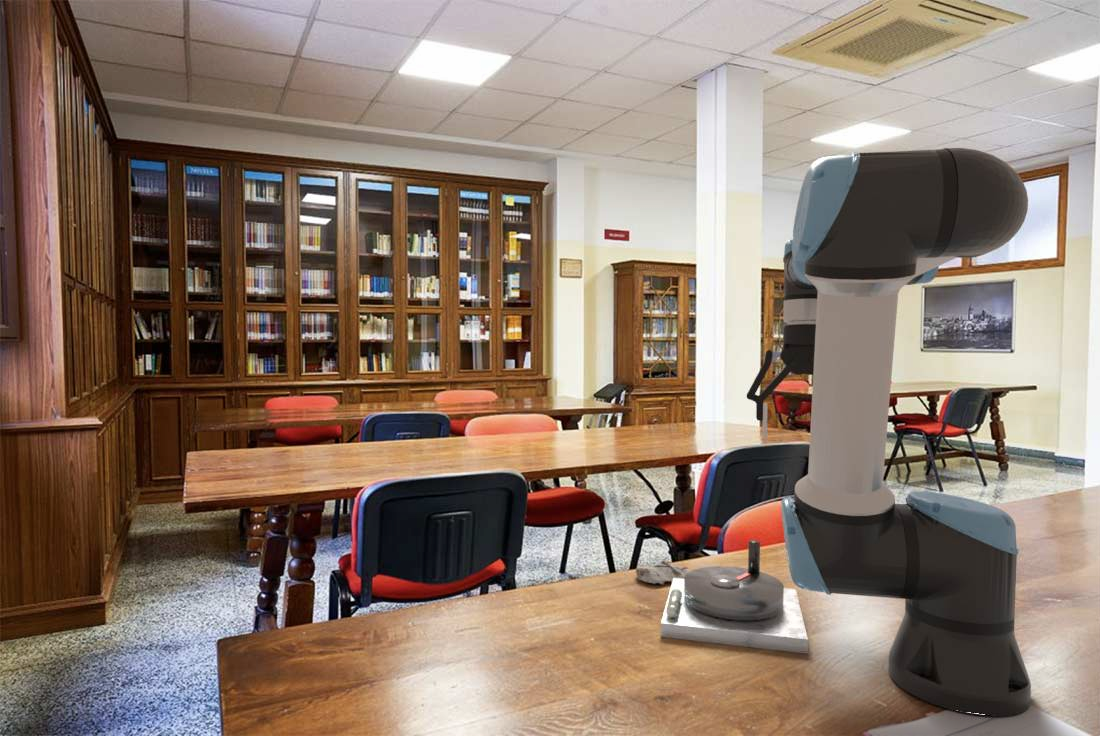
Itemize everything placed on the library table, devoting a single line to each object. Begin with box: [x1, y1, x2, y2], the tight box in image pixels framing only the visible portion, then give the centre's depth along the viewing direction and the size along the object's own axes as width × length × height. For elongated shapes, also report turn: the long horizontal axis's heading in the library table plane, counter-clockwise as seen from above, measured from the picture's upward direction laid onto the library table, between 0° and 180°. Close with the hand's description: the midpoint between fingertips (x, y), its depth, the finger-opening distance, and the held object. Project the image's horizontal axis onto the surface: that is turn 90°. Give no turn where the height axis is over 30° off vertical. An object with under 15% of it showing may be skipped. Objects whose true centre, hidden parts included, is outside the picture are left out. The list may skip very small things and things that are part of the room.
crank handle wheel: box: [683, 539, 785, 620], centre depth 106 cm, size 15×15×8 cm
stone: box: [635, 560, 691, 585], centre depth 123 cm, size 10×7×3 cm
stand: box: [660, 578, 809, 655], centre depth 105 cm, size 20×20×4 cm
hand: (803, 440), depth 124 cm, fingers open, 13 cm apart
